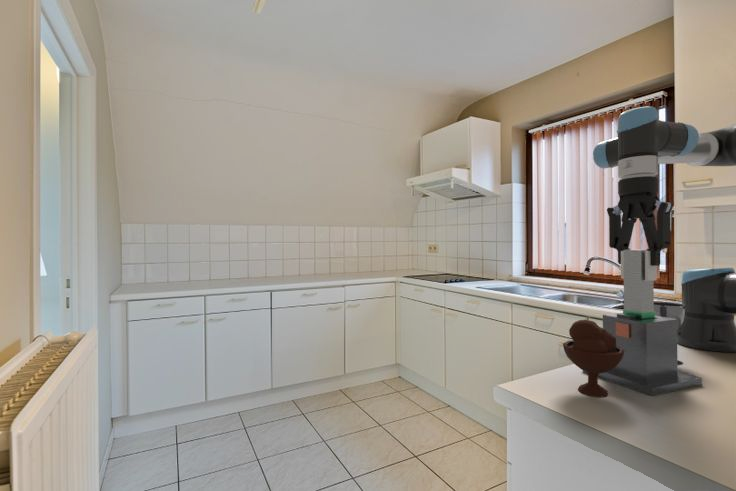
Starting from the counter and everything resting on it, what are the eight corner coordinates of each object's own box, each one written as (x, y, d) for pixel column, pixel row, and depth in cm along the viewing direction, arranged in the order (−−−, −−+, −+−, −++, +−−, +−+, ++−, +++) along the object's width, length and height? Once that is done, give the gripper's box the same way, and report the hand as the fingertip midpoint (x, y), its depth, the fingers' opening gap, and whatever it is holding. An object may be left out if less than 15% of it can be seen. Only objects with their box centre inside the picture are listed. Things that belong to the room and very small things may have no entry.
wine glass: (692, 366, 94) (692, 306, 94) (656, 364, 96) (656, 305, 96) (673, 356, 102) (673, 301, 102) (640, 355, 104) (640, 301, 104)
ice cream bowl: (604, 407, 72) (604, 328, 72) (552, 387, 82) (551, 318, 82) (636, 396, 77) (635, 322, 76) (583, 378, 86) (582, 313, 86)
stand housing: (628, 363, 97) (628, 305, 97) (701, 385, 82) (701, 317, 82) (582, 371, 92) (582, 310, 92) (652, 396, 77) (651, 323, 77)
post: (635, 338, 90) (635, 249, 89) (655, 343, 86) (654, 249, 85) (623, 340, 88) (622, 249, 88) (642, 345, 84) (641, 250, 84)
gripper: (590, 183, 94) (591, 276, 94) (669, 169, 77) (670, 283, 77) (612, 184, 96) (612, 275, 96) (692, 171, 80) (693, 282, 80)
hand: (638, 279), depth 87 cm, fingers open, 5 cm apart
